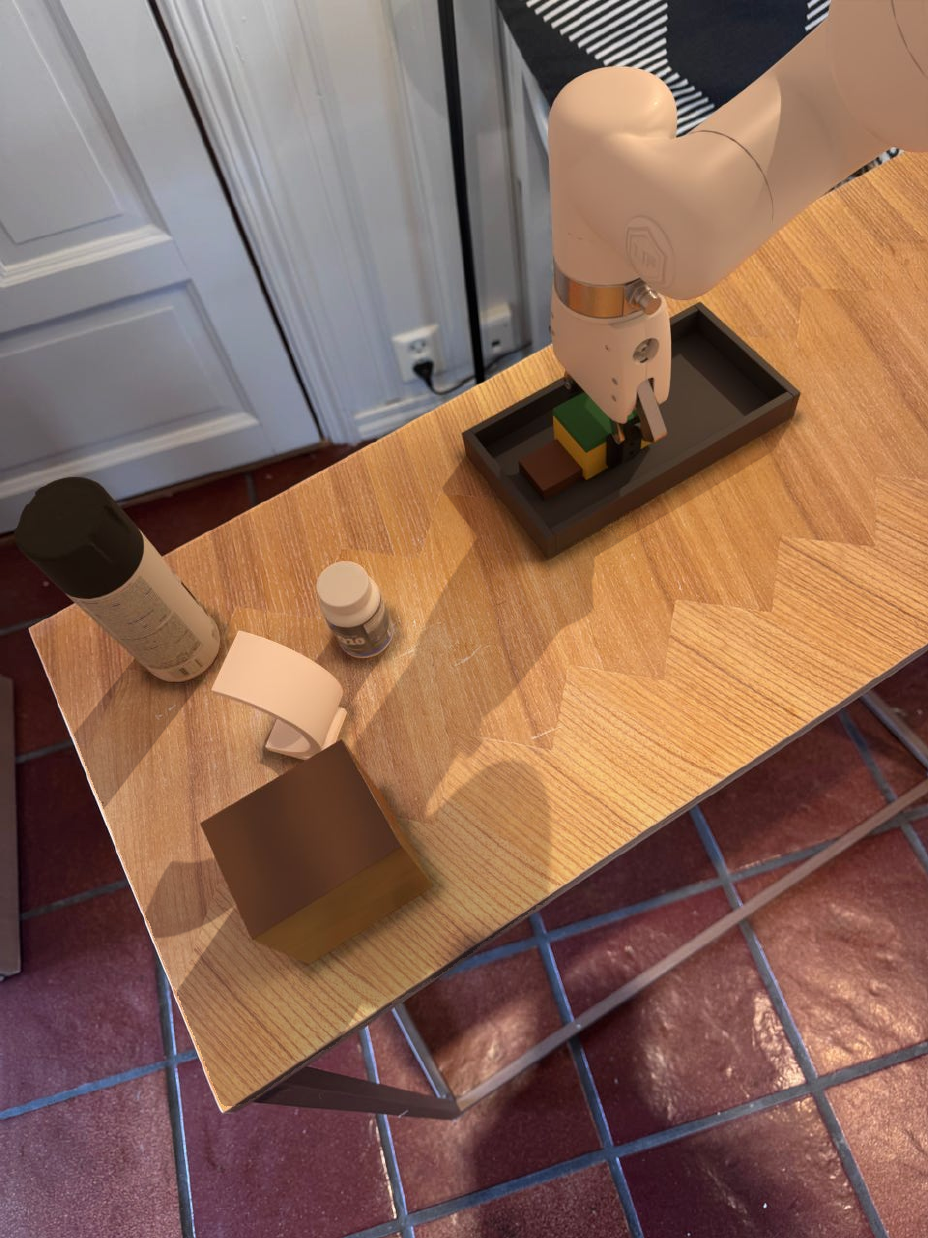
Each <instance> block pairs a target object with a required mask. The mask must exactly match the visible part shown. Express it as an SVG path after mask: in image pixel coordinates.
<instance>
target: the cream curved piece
mask: <svg viewBox="0 0 928 1238" xmlns="http://www.w3.org/2000/svg"><path fill="white" fill-rule="evenodd" d="M210 690H211V692H212V693H213V694H214V695H215V696H219V697H222V698H225V699H228V700H231V701H234V702H238V703H241V704H243V705H245V706H248V707H250V708H253V709H255V710H258V711H260V712H263V713H264V714H266V715H269V716H271V717H272V718H275V722H274V725H273V726H272V730H271V732H270V734H269V736H268V739H267V741H266V743H265V749H267V751H270V752H273V753H278V754H281V755H284V756H287V757H291V758H294V759H299V760H302V761H305V760H307V759H309V758H310V757H312V756H314V755H315V754H317V753H319V752H320V751H322V750H324V749H325V748H327V747H329V746H330V745H332V744H334V743H336V742H337V741H338V737H339V734H340V732H341V730H342V727H343V725H344V722H345V719H346V718H347V717H346V716H347V714H348V711H347V709H346V708H345V707H341V706H340V703H341V701H342V698H343V696H344V689H343V687H342V684H340V682H339V681H338V680H337V678H336V677H335V676H333V675H332V674H331V673H330V672H329V671H328V670H327V669H325V668H324V667H322V666H321V665H320V664H318V663H317V662H315V661H314V660H312V659H310V658H309V657H307V656H305V655H303V654H302V653H299V652H298V651H296V650H294V649H292V648H289V647H288V646H285V645H283V644H281V643H278V642H276V641H274V640H271V639H268V638H267V637H266V638H265V637H263V636H260V635H257V634H255V633H250V632H247V631H243V630H238V631H237V633H236V635H235V638H234V640H233V641H232V644H231V646H230V648H229V651H228V652H227V655H226V657H225V658H224V661H223V663H222V665H221V667H220V669H219V671H218V674H217V676H216V678H215V681H214V683H213V685H212V686H211V689H210Z"/></svg>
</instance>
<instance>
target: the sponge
mask: <svg viewBox="0 0 928 1238" xmlns="http://www.w3.org/2000/svg"><path fill="white" fill-rule="evenodd" d="M627 418H628V419H627V421H628V420H630V419H631V418H634V416H633V411H632V413H631V414H630V415H628V417H627ZM553 425H554V440H556V439H557V440H558V441H559V442H560V443H561V444H562V445H563V447H564V448H565V449H566V450H567V451H568V452H569V454H570V455H571V456H572V457H573V458H574V459H575V461H576V462H577V463H578V464H579V465H580V466H581V468H582V474H583V477H584V478H585V479H586V480H587V479H589V478H591V477H593V476H594V475H596V474H598V473H600V472H601V471H603V470H605V469H607V468H608V466H607V465H606V449H607V436H608V435H609V434H610V433H612V432H611V427H610V421H609V417H608V416H607V415H606V414H605V413H604V412H603V411H602V409H601V408H600V407H599V406H598V405H597V404H596V403H595V402H594V401H593V400H592V399H591V398H590V397H589V396H588V394H587V393H586V392H583V393H581V394H580V395H578V396H576V397H574V398H572V399H570V400H568V401H566V402H565V403H563V404H561V405H559V406H557V407H556V408H554V409H553ZM649 444H651V442H646V441H643V440H642V441H641V449H642V448H644V447H645V446H647V445H649Z"/></svg>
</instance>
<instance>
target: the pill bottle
mask: <svg viewBox="0 0 928 1238" xmlns="http://www.w3.org/2000/svg"><path fill="white" fill-rule="evenodd" d="M315 589H316V594H317V596H318V599H319V601H318V603H319V609H320V612H321V614H322V616H323V619H324V620H325V622H326V623H327V625H328V627H329V629H330V631H331V632H332V634H333V637H334V638H335V640H336V641H337V643H338V646H339V647H340V648H341V649H342V651H344V652H345V653H346V654H347V655H349V656H351V657H354V658H357V659H369V658H372V657H375V656H378V655H379V654H381V653H382V652H384V651H385V650H386V649H387V648H388V646H389V645H390V643H391V642H392V640H393V637H394V624H393V621H392V618H391V615H390V613H389V611H388V608H387V605H386V603H385V601H384V598H383V596H382V593H381V591H380V588H379V586H378V584H377V583H376V582H375V580H374V579H373V578H372V577H370V576H369V575H368V572H367V571H366V569H365V568H364V567H363V566H362V565H361V564H359V563H358V562H357V563H356V562H354V561H350V560H341V561H336V562H333V563H331V564H329V565H328V566H327V567H325V568H324V569H323V570H322V571H321V573H320V574H319V576H318V577H317V580H316V585H315Z"/></svg>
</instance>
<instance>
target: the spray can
mask: <svg viewBox="0 0 928 1238" xmlns="http://www.w3.org/2000/svg"><path fill="white" fill-rule="evenodd" d="M13 538H14V542H15V545H16V547H17V548H18V549H19V551H20V552H21V553H22V554H23V555H24V556H25V557H26V558H27V559H28V560H29V561H30V562H31V563H32V564H33V565H34V566H36V568H38V569H39V570H40V572H42V573H43V574H44V575H45V576H46V577H47V579H49V580H50V581H51V582H52V583H53V584H54V585H55V587H57V588H58V589H59V590H60V591H61V592H62V593H64V594H65V596H66V597H68V598H69V599H70V600H71V601H72V602H73V603H74V604H75V605H77V606H78V608H80V609H81V610H82V611H83V612H84V613H85V614H86V615H88V617H89V618H91V620H93V621H94V622H95V623H96V624H97V625H98V627H100V628H101V629H102V630H104V632H106V633H107V634H108V635H109V636H110V637H111V638H112V639H113V640H114V641H116V643H118V644H119V645H120V646H121V647H122V648H124V650H125V651H126V652H128V653H129V654H130V655H131V656H132V657H133V658H134V659H135V660H136V661H137V662H138V663H139V664H140V665H141V666H143V667H144V669H146V670H147V671H148V672H149V673H151V674H152V675H153V676H154V677H156V678H158V679H160V680H162V681H166V682H172V683H173V682H175V683H176V682H177V683H183V682H187V681H190V680H192V679H196V678H198V677H200V676H201V675H202V674H203V673H204V672H205V671H207V670H208V669H209V668H210V667H211V666H212V664H213V663H214V661H215V660H216V658H217V656H218V655H219V652H220V646H221V637H220V630H219V627H218V625H217V623H216V621H215V620H214V618H212V616H211V615H210V614H209V612H208V611H207V610H206V609H205V608H204V606H203V605H202V603H201V601H199V600H198V599H197V598H196V597H195V596H194V594H193V593H192V592H191V591H190V589H189V588H188V587H187V586H186V585H185V583H184V582H183V581H182V580H181V578H180V577H179V576H178V574H177V573H175V571H174V570H173V569H172V568H171V566H170V565H169V563H168V562H167V561H166V560H165V559H164V557H163V556H162V555H161V554H160V552H158V550H157V549H156V547H155V546H154V545H153V544H152V542H150V540H149V539H148V538H147V537H146V535H145V534H144V532H143V531H142V530H141V529H140V528H139V526H137V524H136V523H135V522H134V521H133V520H132V519H131V518H130V517H129V515H128V514H127V513H126V512H125V511H124V510H123V508H122V507H121V506H120V505H119V504H118V503H117V502H116V500H115V499H114V498H113V497H112V495H110V493H109V492H108V491H107V489H106V488H105V487H104V486H103V485H102V484H100V483H99V482H97V481H95V480H92V479H90V478H87V477H83V476H68V477H67V476H66V477H62V478H59V479H55V480H53V481H50V482H48V483H47V484H45V485H43V486H41V487H39V488H38V489H37V490H36V491H35V492H34V496H33V497H32V498H31V500H30V501H29V502H28V503H27V504H25V506H24V508H23V510H22V512H21V514H20V516H19V521H18V524H17V527H16V528H15V529H14V532H13Z"/></svg>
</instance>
